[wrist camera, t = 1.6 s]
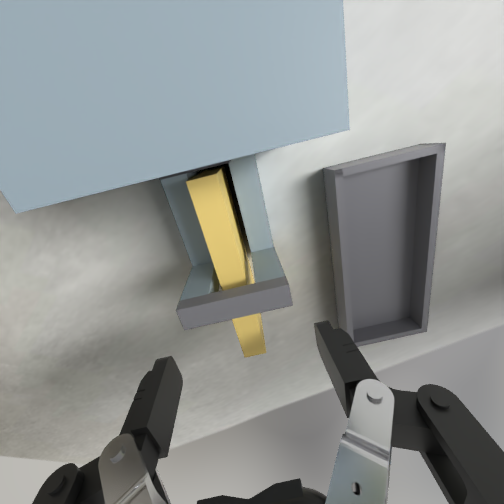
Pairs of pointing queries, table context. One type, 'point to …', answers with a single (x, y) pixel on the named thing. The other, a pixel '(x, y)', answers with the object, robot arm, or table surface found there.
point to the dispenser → (168, 111)
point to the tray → (384, 240)
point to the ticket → (226, 247)
